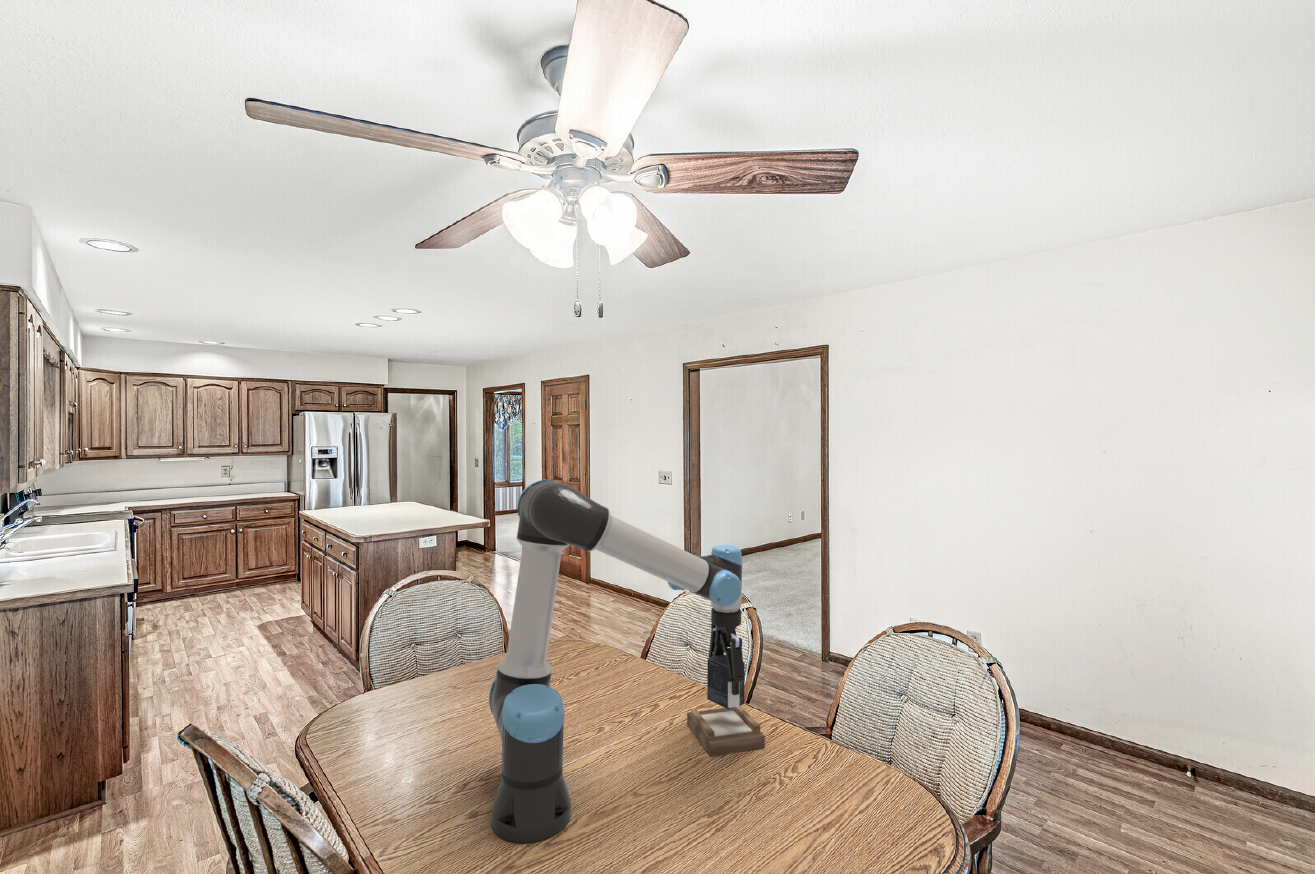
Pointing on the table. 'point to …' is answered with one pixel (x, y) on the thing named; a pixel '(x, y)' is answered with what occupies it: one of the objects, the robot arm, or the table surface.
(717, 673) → the box
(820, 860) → the table surface
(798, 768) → the table surface
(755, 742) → the stand
